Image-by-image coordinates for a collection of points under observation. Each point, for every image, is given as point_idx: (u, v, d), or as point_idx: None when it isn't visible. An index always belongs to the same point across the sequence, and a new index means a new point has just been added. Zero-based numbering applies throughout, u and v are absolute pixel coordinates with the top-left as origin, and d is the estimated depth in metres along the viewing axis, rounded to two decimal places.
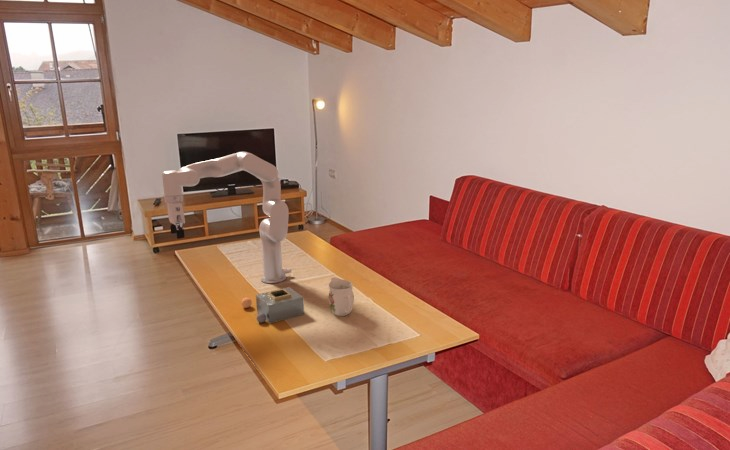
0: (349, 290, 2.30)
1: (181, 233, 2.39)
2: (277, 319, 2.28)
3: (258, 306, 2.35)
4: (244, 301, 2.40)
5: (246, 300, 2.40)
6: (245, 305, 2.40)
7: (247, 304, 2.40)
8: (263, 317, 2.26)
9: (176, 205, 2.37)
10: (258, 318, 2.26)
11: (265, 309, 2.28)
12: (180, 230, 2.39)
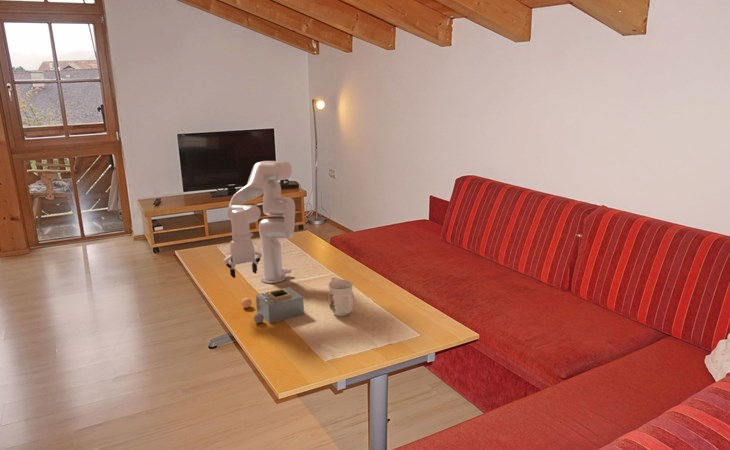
0: (349, 290, 2.30)
1: None
2: (277, 319, 2.28)
3: (258, 306, 2.35)
4: (244, 301, 2.40)
5: (246, 300, 2.40)
6: (245, 305, 2.40)
7: (247, 304, 2.40)
8: (259, 318, 2.25)
9: None
10: (256, 321, 2.25)
11: (265, 309, 2.28)
12: None
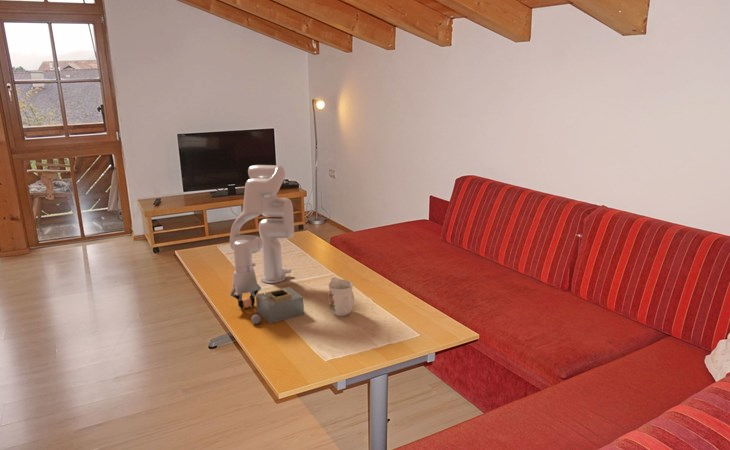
0: (349, 290, 2.30)
1: None
2: (277, 319, 2.28)
3: (258, 306, 2.35)
4: (244, 301, 2.40)
5: (246, 300, 2.40)
6: (245, 305, 2.40)
7: (247, 304, 2.40)
8: (256, 319, 2.24)
9: None
10: (254, 323, 2.25)
11: (265, 309, 2.28)
12: None
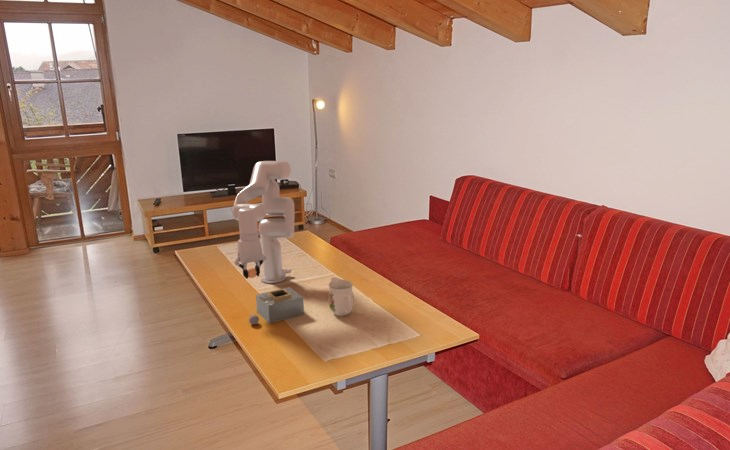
0: (349, 290, 2.29)
1: None
2: (277, 319, 2.28)
3: (258, 306, 2.35)
4: (249, 271, 2.35)
5: (251, 270, 2.35)
6: (250, 275, 2.35)
7: (252, 274, 2.34)
8: (253, 321, 2.24)
9: (259, 240, 2.35)
10: (254, 324, 2.25)
11: (265, 309, 2.28)
12: None
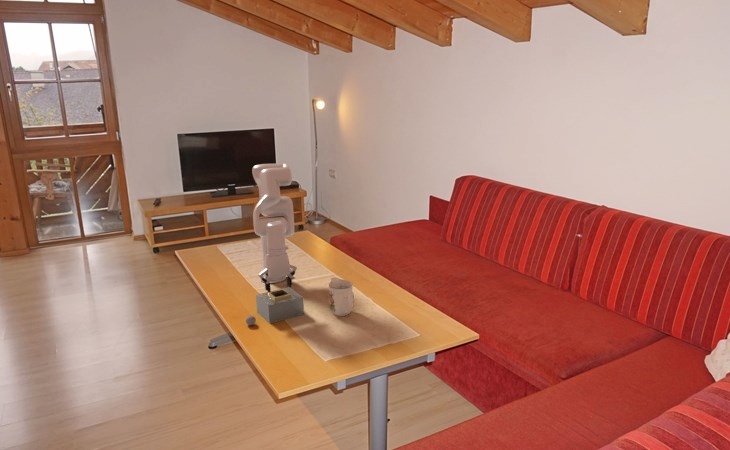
0: (349, 290, 2.30)
1: None
2: (277, 319, 2.28)
3: (258, 306, 2.35)
4: None
5: None
6: None
7: None
8: (250, 323, 2.23)
9: None
10: (253, 324, 2.25)
11: (265, 309, 2.28)
12: None
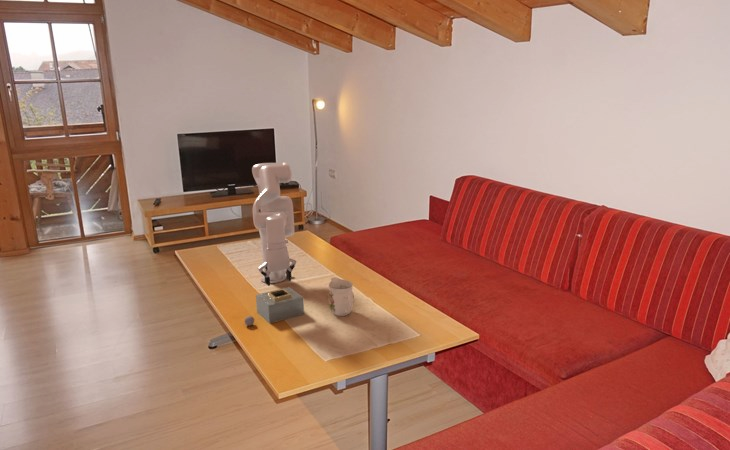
0: (349, 290, 2.30)
1: None
2: (277, 319, 2.28)
3: (258, 306, 2.35)
4: None
5: None
6: None
7: None
8: (249, 323, 2.23)
9: None
10: None
11: (265, 309, 2.28)
12: None
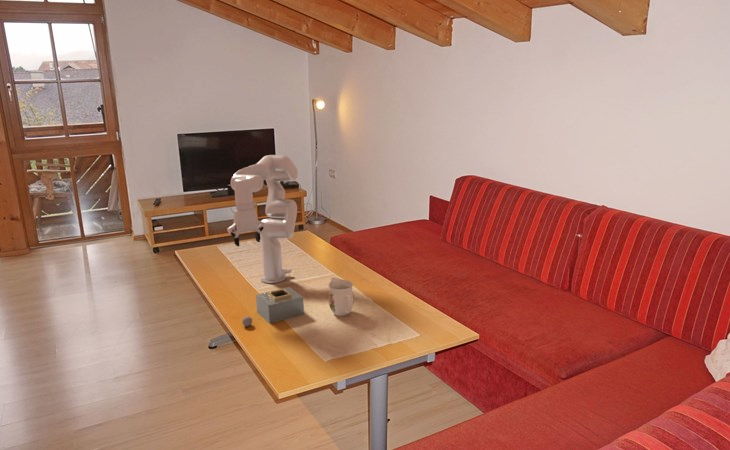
0: (349, 290, 2.30)
1: None
2: (277, 319, 2.28)
3: (258, 306, 2.35)
4: None
5: None
6: None
7: None
8: (248, 324, 2.23)
9: None
10: (251, 322, 2.24)
11: (265, 309, 2.28)
12: None
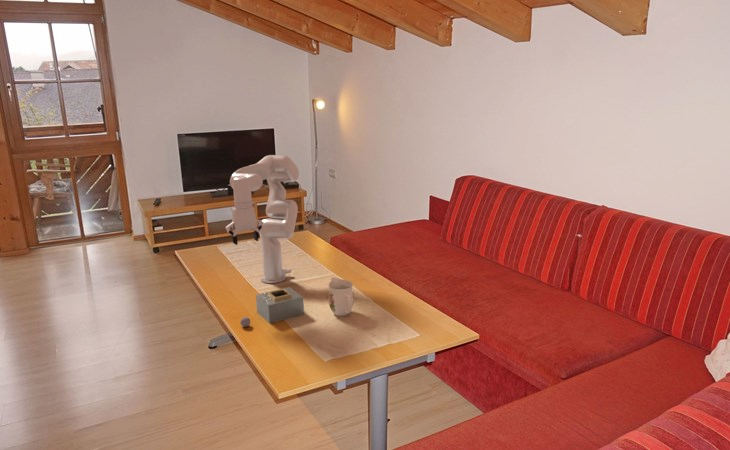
0: (349, 290, 2.30)
1: None
2: (277, 319, 2.28)
3: (258, 306, 2.35)
4: None
5: None
6: None
7: None
8: (247, 325, 2.22)
9: None
10: None
11: (265, 309, 2.28)
12: None
